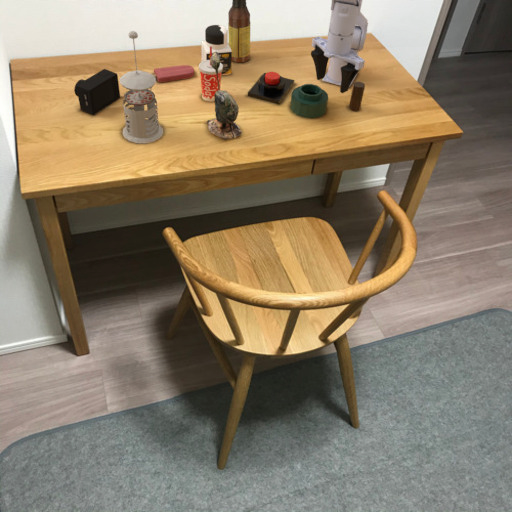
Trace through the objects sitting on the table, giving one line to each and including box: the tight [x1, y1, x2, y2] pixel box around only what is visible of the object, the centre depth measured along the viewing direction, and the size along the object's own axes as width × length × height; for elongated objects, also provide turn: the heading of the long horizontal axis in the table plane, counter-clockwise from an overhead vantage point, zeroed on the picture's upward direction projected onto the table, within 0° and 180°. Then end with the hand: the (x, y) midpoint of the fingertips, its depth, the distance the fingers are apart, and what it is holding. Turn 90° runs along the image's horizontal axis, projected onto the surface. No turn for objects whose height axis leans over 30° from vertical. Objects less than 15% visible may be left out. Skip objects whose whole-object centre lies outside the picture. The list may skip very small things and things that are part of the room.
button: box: [265, 71, 281, 85], centre depth 152 cm, size 4×4×2 cm
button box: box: [247, 72, 296, 105], centre depth 153 cm, size 12×9×3 cm
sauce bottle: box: [227, 0, 251, 63], centre depth 158 cm, size 7×6×20 cm
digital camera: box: [73, 68, 121, 116], centre depth 142 cm, size 10×5×7 cm, turn 149°
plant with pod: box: [206, 52, 243, 140], centre depth 132 cm, size 8×11×20 cm
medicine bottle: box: [200, 24, 233, 76], centre depth 156 cm, size 7×7×12 cm
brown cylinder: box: [348, 80, 366, 112], centre depth 148 cm, size 3×3×7 cm
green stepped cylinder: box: [289, 83, 329, 119], centre depth 147 cm, size 9×9×6 cm
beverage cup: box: [198, 46, 223, 103], centre depth 145 cm, size 6×6×14 cm
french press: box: [118, 30, 164, 144], centre depth 129 cm, size 10×12×25 cm
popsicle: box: [152, 64, 195, 83], centre depth 155 cm, size 5×2×15 cm
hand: (332, 84), depth 138 cm, fingers open, 7 cm apart
